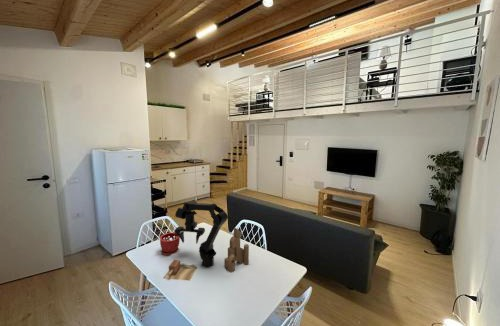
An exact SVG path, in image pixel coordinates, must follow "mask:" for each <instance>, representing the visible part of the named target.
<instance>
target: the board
mask: <svg viewBox="0 0 500 326" xmlns="http://www.w3.org/2000/svg"><path fill="white" fill-rule="evenodd" d="M197 269H198V264H195V263H183V262H180V270H179V271H178V273H177V274H176V275H170V278H169V276H168V273H169V270H168V271H167V273H165V275H164V276H163V278H162V279H165V280H166V279H167V280H177V281H178V280H180V281H191V279H192V278H193V276H194V274H195V272H196V271H197Z"/></svg>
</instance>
